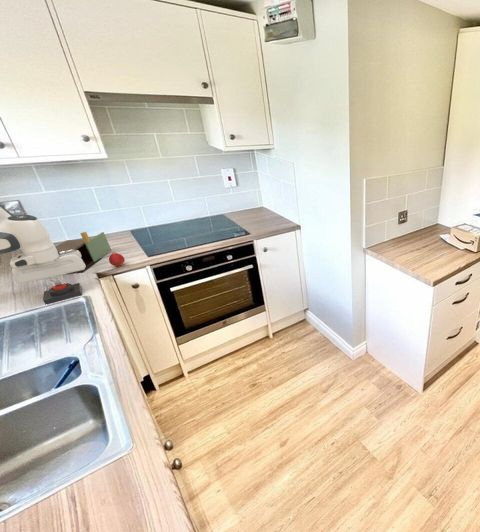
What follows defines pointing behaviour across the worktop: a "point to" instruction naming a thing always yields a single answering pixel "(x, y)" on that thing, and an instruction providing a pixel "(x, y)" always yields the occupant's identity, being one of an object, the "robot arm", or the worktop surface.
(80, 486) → the worktop surface
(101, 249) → the sliding door
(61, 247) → the cabinet
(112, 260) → the onion
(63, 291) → the button box
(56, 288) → the button
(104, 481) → the worktop surface
